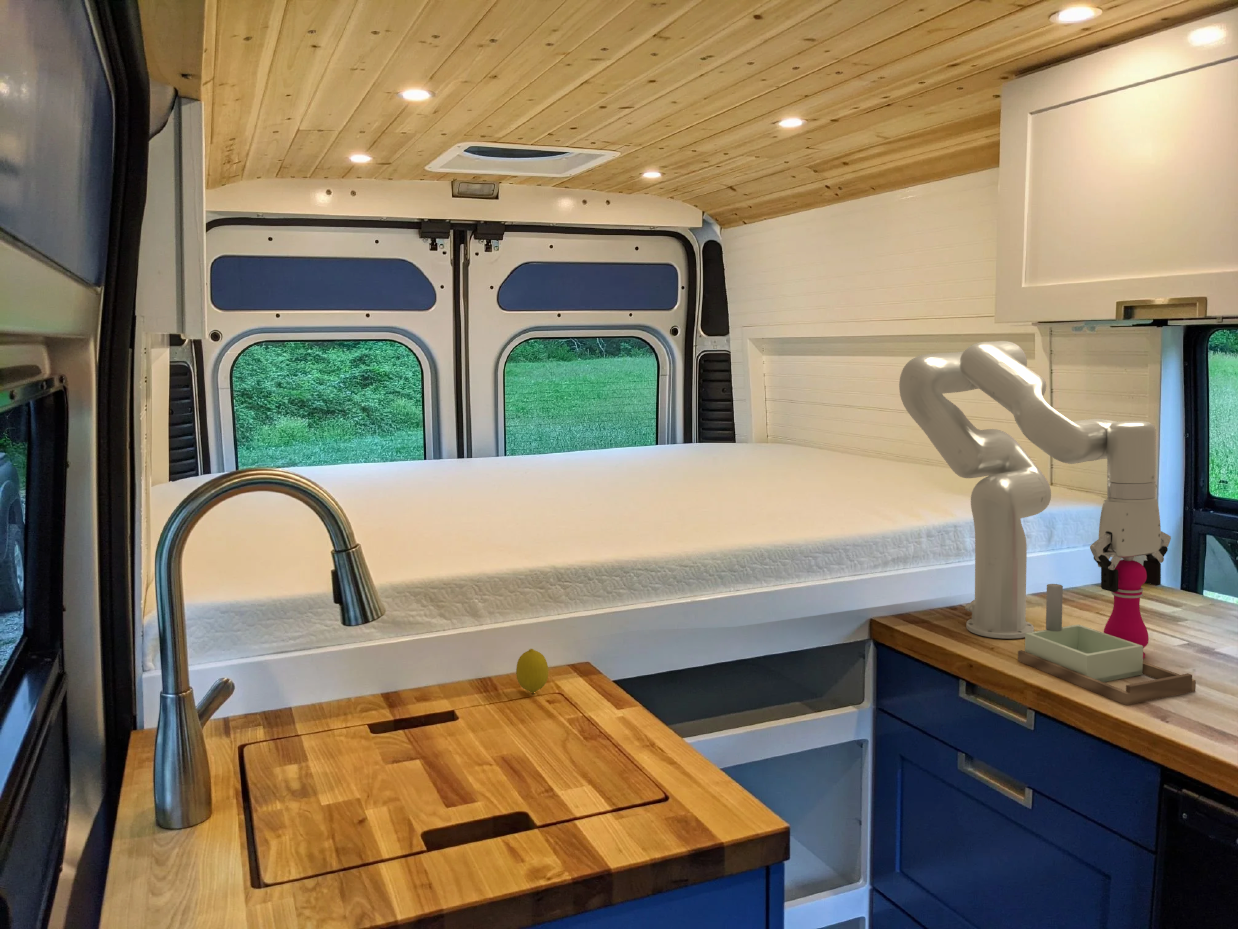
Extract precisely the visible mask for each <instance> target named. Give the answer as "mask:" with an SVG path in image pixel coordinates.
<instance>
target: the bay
mask: <svg viewBox="0 0 1238 929" xmlns="http://www.w3.org/2000/svg"><path fill="white" fill-rule="evenodd" d="M1017 661H1018V662H1020V663H1023V664H1024V665H1027V666H1029V667H1032V668H1034V669H1037V670H1039V671H1042V672H1044V673H1046V674H1048V675H1051V676H1054V677H1057V678H1058V679H1061V680H1064V681H1066V682H1069V683H1071V684H1074V685H1076V686H1078V687H1081V688H1084V689H1085V690H1088V691H1091V692H1093V693H1095V694H1098V695H1100V696H1103V697H1105V698H1107V699H1110V700H1112V701H1115V702H1117V703H1120V704H1121V705H1125V706H1129V705H1132V704H1138V703H1143V702H1149V701H1154V700H1159V699H1164V698H1168V697H1174V696H1178V695H1183V694H1188V693H1194V692H1196V688H1197V684H1196V682H1197V680H1196V679H1194V678H1193V674H1191V673H1182V674H1179V673H1176V672H1173V671H1171V670H1168V669H1166V668H1162V667H1160V666H1157V665H1155V664H1151V663H1148V662H1146V661H1143V670H1142V675H1143V676H1144V675H1145V676H1147V677H1150V678H1152V679H1151V680H1146V681H1141V682H1136V683H1130V684H1126V686H1125V690H1124V689H1121V688H1120V687H1119V688H1118V687H1116V686H1115V685H1114V686H1113V685H1112V684H1110V683H1109V684H1108V683H1106V682H1101V681H1099V680H1096V679H1094V678H1091V677H1088V676H1086V675H1083V674H1081V673H1078V672H1076V671H1073V670H1071V669H1068V668H1066V667H1063V666H1061V665H1058V664H1055V663H1053V662H1050V661H1048V660H1045V659H1043V658H1040V657H1038V656H1035V655H1033V654H1030V653H1027V652H1025V650H1021V649H1020V650H1017Z"/></svg>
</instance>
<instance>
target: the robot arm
mask: <svg viewBox="0 0 1238 929" xmlns="http://www.w3.org/2000/svg"><path fill="white" fill-rule="evenodd" d="M1027 366H1028V359H1027V355H1026V353H1025V352H1024V349H1022V347H1021V346H1020V345H1018V344H1016V343H1014V342H1012V341H1007V340H996V341H981V342H975V343H973V344H972V345H970V346H968V347H967V348H965V350H963V351H957V352H953V351H952V352H938V353H937V352H935V353H933V352H932V353H925V354H921V355H918V356H915V357H913V358H911V359H910V360H909V361H908V362H907V363H906V364H905V365H904V367H903V368H902V370H901V374H900V376H899V382H898V383H899V384H898V386H899V396H900V400H901V402H902V404H903V407H904V408H905V410H906V411H907V413H908V414H909V416H910V417H911V418H912V420H914V422H915V423H916V424H917V425H918V426H919V428H921V430H922V431H923V432H924V434H925V435H926V436H927V438H928V439H929V440H930V442H931V443H932V445H933V446H934V448H935V449H936V450H937V452H938V453H939V454H940V455H941V457H942V458H943V460H944V462H946V464H947V465H948V466H949V468H950V469H951V470H952V472H953V473H954V474H956V475H957V476H958V477H960V478H963V479H976V478H977V479H978V478H982V477H983V478H982V479H980V480H979V481H978V482H977V483H976V484H975V486H974V487H973V489H972V491H971V495H970V509H971V514H972V520H973V526H974V541H975V542H974V554H975V555H974V599H973V600H972V601H971V602H970V603H967V604H966V605H965V607H964V610H966V611H968V612H971V618H970V619H968V620H967V621H966V622H965V623H966V630H968V631H969V632H971V633H973V634H975V635H978V636H981V637H986V638H991V639H1007V640H1011V639H1013V640H1014V639H1023V638H1024V639H1025V633H1028V632H1035V627H1034V625H1033V624H1032V623H1031V622H1029V621H1027V619H1026V618H1027V617H1026V614H1027V613H1026V612H1027V610H1026V609H1027V560H1028V556H1027V550H1028V549H1027V547H1028V546H1027V537H1026V534H1025V531H1024V528H1023V524H1022V519H1024V518H1029V517H1032V516H1036V515H1038V514H1040V513H1042V512H1044V511H1045V510H1046V509H1047V508H1048V506H1049V505H1050V503H1051V501H1052V500H1051V498H1052V490H1051V487H1050V484H1049V481H1048V480H1047V478H1046V477H1045V474H1043V472H1042V471H1041V470H1040V468H1039V467H1038V466H1037V465H1036V463H1035V462H1034V461H1033V460H1032V458H1031V457H1030V456H1029V454H1028V453H1027V452H1026V451H1025V450H1024V448H1023V447H1022V446H1021V445H1020V443H1019V442H1018V441H1017V439H1015V438H1014V437H1013V436H1011V435H1010V434H1009V433H1007V432H1006V431H1004V430H1001V429H997V428H988V429H979V428H977V427H975V425H974V424H973V423H972V422H971V421H970V420H969V418H968V417H967V415H965V414H964V412H963V410H962V409H960V407H958V406H957V405H956V404H954V403H953V402H952V401H951V400H950V399H948V398H946V396H945V395H944V394H953V393H955V394H956V393H963V392H968V391H973V390H980V391H981V392H983V393H985V394H986V395H987V396H989V397H990V398H991V399H993V401H995V402H996V403H998V404H999V405H1000V406H1002V407H1003V408H1005V410H1007V411H1008V412H1010V413H1011V414H1012V415H1013V419H1014V421H1015V423H1016V425H1017V426H1018V428H1019V429H1020V431H1021V433H1022V434H1023V436H1024V437H1025V438H1026V439H1027V440H1028V441H1029V442H1030V443H1032V444H1033V445H1035V446H1036V447H1037V448H1039V449H1040V450H1041V451H1042V452H1044V453H1045V454H1046V455H1048V456H1049V457H1051V458H1052V459H1054V460H1057V461H1059V462H1060V463H1063V464H1069V465H1073V464H1074V465H1075V464H1076V465H1077V464H1081V463H1087V462H1093V461H1100V460H1106V469H1107V470H1106V482H1107V483H1106V490H1107V491H1106V493H1107V494H1106V498H1107V499H1104V500H1103V502H1102V506H1101V511H1100V518H1099V528H1098V539H1097V540H1095V541H1094V542H1093V543H1091V544H1090V546H1089V549H1090V552H1091V554H1092V555H1093V561H1095V562H1096V564H1097V567H1098V568H1100V587H1101V588H1100V589H1101V590H1104V591H1107V592H1110V593H1111V592H1117V591H1118V570H1117V569H1115V568H1116V566H1117V564H1118V563H1119V561H1120V560H1122V559H1123V558H1127V557H1134V558H1135V557H1139V556H1143V557H1144V558H1145V560H1143V562H1142V563H1143V564H1142V565H1143V566H1144V568H1145V570H1146V574H1147V579H1146V582H1145V583H1144V584H1150V585H1153V586H1160V585H1162V563H1164V561H1165V555H1166V554H1167V552H1168V549H1169V548H1168V547H1169V544H1170V542H1171V540H1172V536H1171V535H1169V534H1167V533H1166V532H1163V530H1162V529H1161V527H1162V526H1161V519H1160V518H1161V515H1160V509H1159V503H1158V499H1157V498H1156V489H1157V488H1158V487H1157V484H1156V481H1157V480H1156V474H1157V472H1156V471H1157V470H1156V468H1157V467H1156V465H1157V463H1156V461H1157V460H1156V456H1157V455H1156V454H1157V452H1156V451H1157V444H1156V443H1157V442H1156V441H1157V440H1156V439H1157V434H1156V433H1157V432H1156V431H1157V430H1156V427H1155V425H1154V424H1153V423H1152V422H1149V421H1145V420H1121V421H1115V420H1110V419H1102V418H1089V419H1080V420H1074V421H1072V420H1070V419H1069V418H1068V417H1066V416H1064V415H1063V414H1062V413H1060V412H1059V411H1057V410H1056V409H1055V408H1054V407H1052V406H1051V404H1049V403H1048V402H1047V401H1046V400H1045V398H1044V396H1045V394H1046V390H1047V383H1046V380H1045V379H1044V378H1043V377H1042V376H1041V375H1039V374H1038V373H1036V372H1035V371H1033V370H1032V369H1031V368H1029V367H1027ZM1110 558H1111V560H1110Z"/></svg>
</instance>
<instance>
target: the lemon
mask: <svg viewBox="0 0 1238 929" xmlns="http://www.w3.org/2000/svg"><path fill="white" fill-rule="evenodd" d="M515 670H516V672H515V673H516V674H515V675H516V679H517V682H518V684H519V686H520V687H521V688H522V689H524V690H525V691H528V692H529V693H531V692H532V693H534V692H536V691H537V692H538V691H539V690H541V689H543V687H544V686H545V685H546V684H547V682H548V678H549V665H548V662H547V659H546V657H545V655H543V653H541V652H539V651H538V650H535V649H533V648H530V649H529V648H528V650H527V651H525V652H523V653H522V654H521V655H520V656H519V657H518V660H517V663H516V669H515ZM537 692H536V693H537ZM532 693H531V694H532ZM534 694H535V693H534Z"/></svg>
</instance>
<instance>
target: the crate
mask: <svg viewBox="0 0 1238 929" xmlns="http://www.w3.org/2000/svg"><path fill="white" fill-rule="evenodd" d="M1045 602H1046V603H1045V606H1046V610H1045V614H1046V615H1045V629H1043V630H1037V631H1036V630H1034V632H1028V633H1025V637H1024V639H1025V640H1024V651H1025V652H1027V653H1030V654H1033V655H1035V656H1038V657H1040V658H1043V659H1045V660H1048V661H1050V662H1053V663H1055V664H1058V665H1061V666H1063V667H1066V668H1068V669H1071V670H1073V671H1076V672H1078V673H1081V674H1083V675H1086V676H1088V677H1091V678H1094V679H1096V680H1099V681H1101V682H1104V683H1106V682H1111V681H1117V680H1120V679H1121V680H1122V679H1127V678H1133V677H1137V676H1142V675H1143V674H1142V670H1143V662H1144V658H1143V652H1144V648H1143V646H1142V645H1139V644H1136V643H1133V642H1130V641H1127V640H1124V639H1121V638H1118V637H1115V636H1112V635H1109V634H1106V633H1104V631H1099V630H1096V629H1093V628H1091V627H1087V626H1085V625H1081V624H1072V625H1067V626H1066V625H1065V626H1063V584H1060V583H1059V584H1057V583H1047V584H1046V600H1045Z"/></svg>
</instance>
